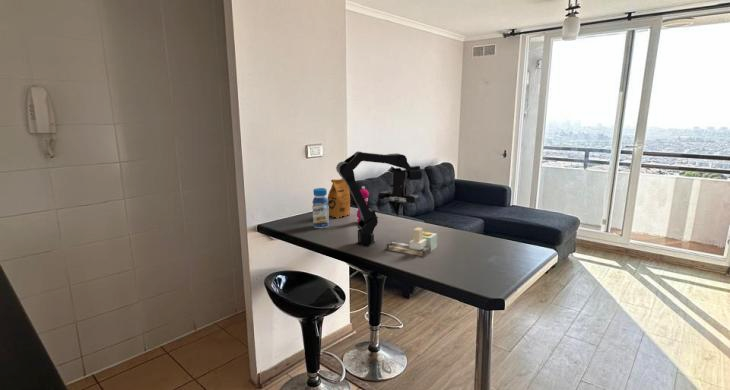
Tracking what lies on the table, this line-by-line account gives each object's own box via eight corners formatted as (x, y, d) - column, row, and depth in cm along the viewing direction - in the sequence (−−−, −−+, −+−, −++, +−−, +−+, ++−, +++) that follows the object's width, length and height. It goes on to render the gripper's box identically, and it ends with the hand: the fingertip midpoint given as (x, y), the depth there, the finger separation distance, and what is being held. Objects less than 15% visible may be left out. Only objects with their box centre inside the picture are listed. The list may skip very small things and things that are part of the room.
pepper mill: (368, 224, 207) (368, 187, 203) (355, 223, 208) (355, 187, 204) (371, 221, 214) (371, 185, 210) (358, 220, 215) (358, 184, 211)
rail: (386, 249, 168) (386, 243, 167) (393, 245, 173) (393, 240, 172) (425, 256, 158) (425, 250, 158) (430, 252, 163) (430, 246, 163)
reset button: (421, 245, 168) (421, 233, 167) (424, 243, 171) (424, 231, 170) (428, 246, 166) (428, 235, 165) (431, 244, 169) (431, 233, 168)
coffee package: (325, 216, 224) (324, 178, 220) (340, 212, 233) (340, 176, 229) (337, 219, 218) (336, 180, 213) (352, 215, 227) (352, 178, 222)
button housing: (415, 249, 168) (415, 235, 166) (422, 244, 174) (422, 231, 173) (430, 251, 164) (430, 238, 163) (436, 246, 170) (437, 233, 169)
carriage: (409, 247, 161) (409, 229, 160) (415, 243, 166) (415, 226, 165) (420, 249, 159) (421, 231, 157) (426, 245, 164) (426, 228, 162)
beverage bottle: (332, 225, 205) (331, 188, 201) (322, 229, 198) (321, 191, 194) (320, 223, 209) (318, 187, 206) (309, 227, 202) (308, 189, 199)
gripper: (425, 181, 176) (424, 214, 179) (389, 177, 186) (389, 209, 189) (414, 184, 167) (413, 219, 170) (377, 180, 177) (377, 214, 180)
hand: (398, 215), depth 178 cm, fingers closed
